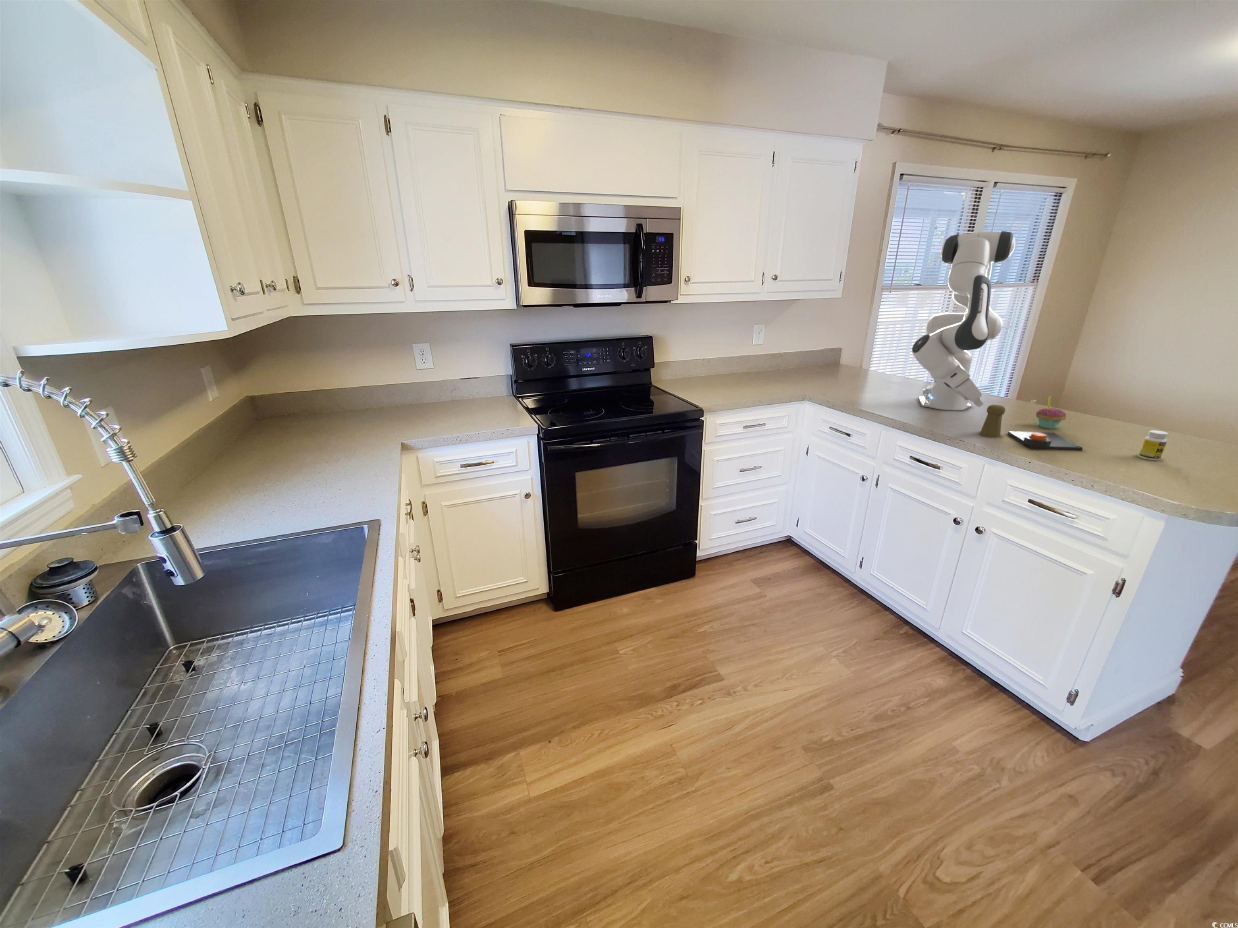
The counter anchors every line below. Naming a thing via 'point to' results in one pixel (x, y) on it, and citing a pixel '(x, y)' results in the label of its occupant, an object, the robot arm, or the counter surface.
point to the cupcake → (1050, 416)
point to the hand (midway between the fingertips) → (974, 401)
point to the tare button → (1038, 436)
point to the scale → (1045, 441)
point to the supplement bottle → (1153, 445)
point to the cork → (993, 421)
